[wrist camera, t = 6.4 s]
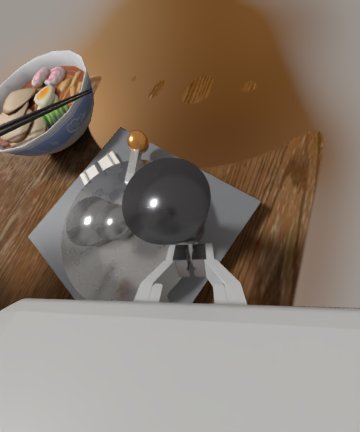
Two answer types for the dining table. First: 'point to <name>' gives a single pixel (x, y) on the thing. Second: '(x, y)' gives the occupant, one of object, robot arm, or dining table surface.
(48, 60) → the ramen bowl
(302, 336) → the robot arm
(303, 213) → the dining table surface
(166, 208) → the wheel
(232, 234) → the grey flat square slab
